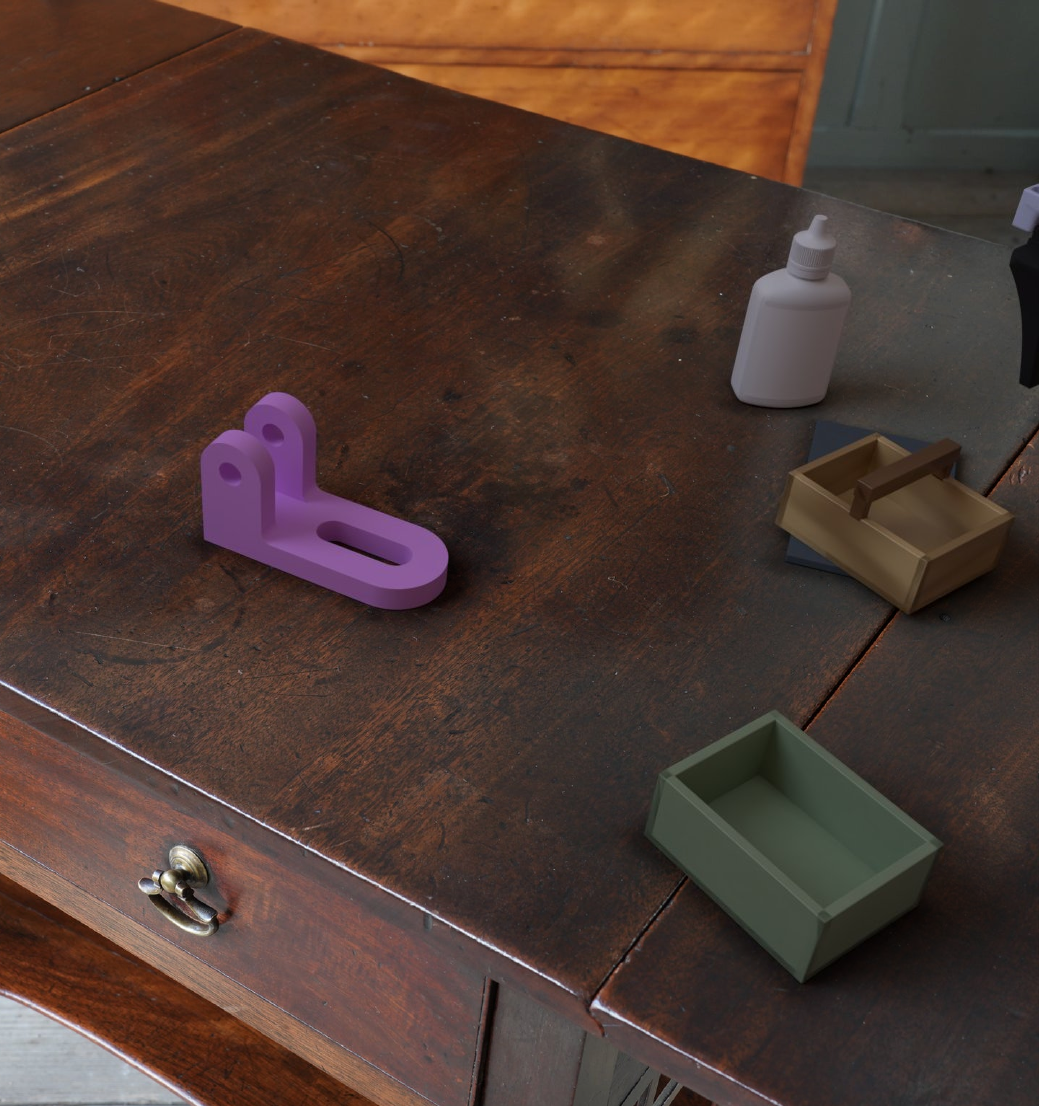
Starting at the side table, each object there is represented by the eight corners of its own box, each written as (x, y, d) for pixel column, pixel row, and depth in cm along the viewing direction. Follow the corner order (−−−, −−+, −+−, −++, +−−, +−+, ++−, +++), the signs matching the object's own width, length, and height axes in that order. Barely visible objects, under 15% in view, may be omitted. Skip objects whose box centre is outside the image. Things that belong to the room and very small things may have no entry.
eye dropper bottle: (813, 423, 88) (863, 244, 81) (722, 399, 90) (762, 221, 83) (829, 389, 91) (879, 213, 84) (740, 366, 93) (781, 192, 86)
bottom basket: (917, 906, 61) (945, 844, 58) (801, 984, 58) (825, 922, 55) (756, 770, 66) (775, 708, 64) (643, 835, 63) (658, 772, 61)
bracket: (204, 539, 79) (199, 433, 75) (258, 487, 83) (257, 384, 78) (415, 623, 74) (424, 515, 70) (464, 563, 78) (475, 457, 73)
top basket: (995, 568, 77) (1029, 484, 73) (908, 615, 74) (938, 530, 70) (860, 482, 83) (886, 401, 79) (774, 523, 80) (796, 441, 76)
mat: (941, 598, 76) (944, 591, 75) (784, 561, 78) (786, 554, 78) (955, 454, 86) (957, 447, 85) (815, 425, 88) (817, 418, 88)
